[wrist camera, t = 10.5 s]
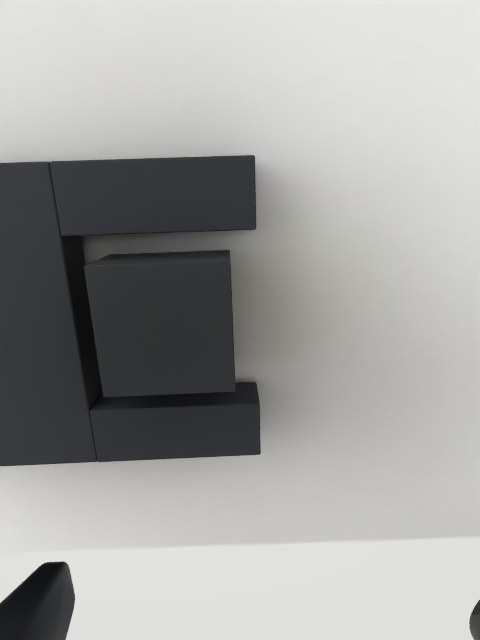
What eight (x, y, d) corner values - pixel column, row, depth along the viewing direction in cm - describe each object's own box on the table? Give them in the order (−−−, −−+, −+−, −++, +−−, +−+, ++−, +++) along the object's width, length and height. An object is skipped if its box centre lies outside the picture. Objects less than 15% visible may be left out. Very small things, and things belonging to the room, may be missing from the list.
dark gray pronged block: (257, 429, 19) (260, 455, 17) (-38, 442, 18) (-69, 470, 16) (251, 160, 15) (254, 154, 13) (-112, 172, 15) (-163, 167, 13)
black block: (234, 361, 18) (235, 391, 15) (123, 366, 18) (103, 397, 15) (229, 250, 16) (230, 260, 13) (108, 254, 16) (83, 265, 13)
